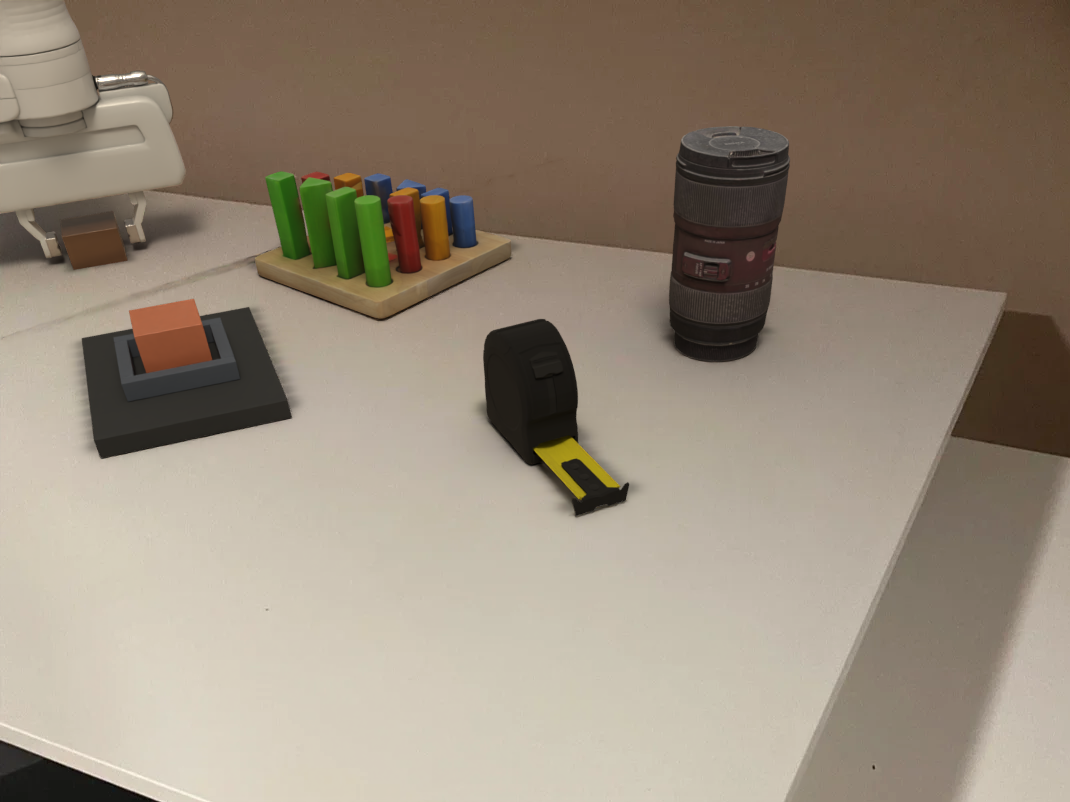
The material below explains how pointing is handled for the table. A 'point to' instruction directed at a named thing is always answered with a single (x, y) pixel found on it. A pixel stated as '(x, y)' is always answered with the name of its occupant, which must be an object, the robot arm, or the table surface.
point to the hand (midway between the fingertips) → (96, 247)
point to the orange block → (170, 335)
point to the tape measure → (543, 408)
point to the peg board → (374, 241)
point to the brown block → (93, 240)
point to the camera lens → (725, 238)
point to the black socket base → (181, 388)
